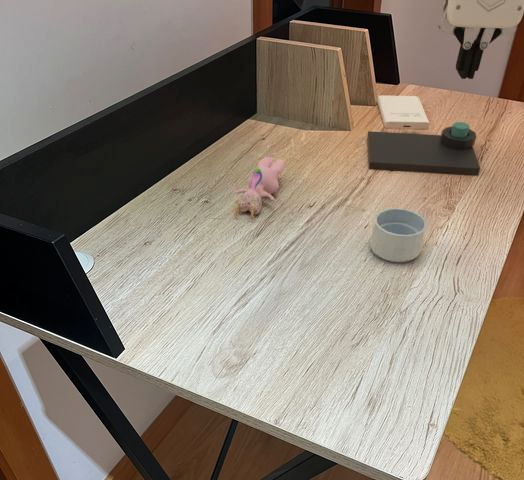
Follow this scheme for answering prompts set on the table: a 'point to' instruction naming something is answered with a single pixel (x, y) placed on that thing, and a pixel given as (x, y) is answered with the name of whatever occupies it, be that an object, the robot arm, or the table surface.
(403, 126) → the hard drive
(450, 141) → the scale
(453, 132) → the button
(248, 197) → the pink soft elongated toy
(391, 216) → the bowl
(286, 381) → the table surface
